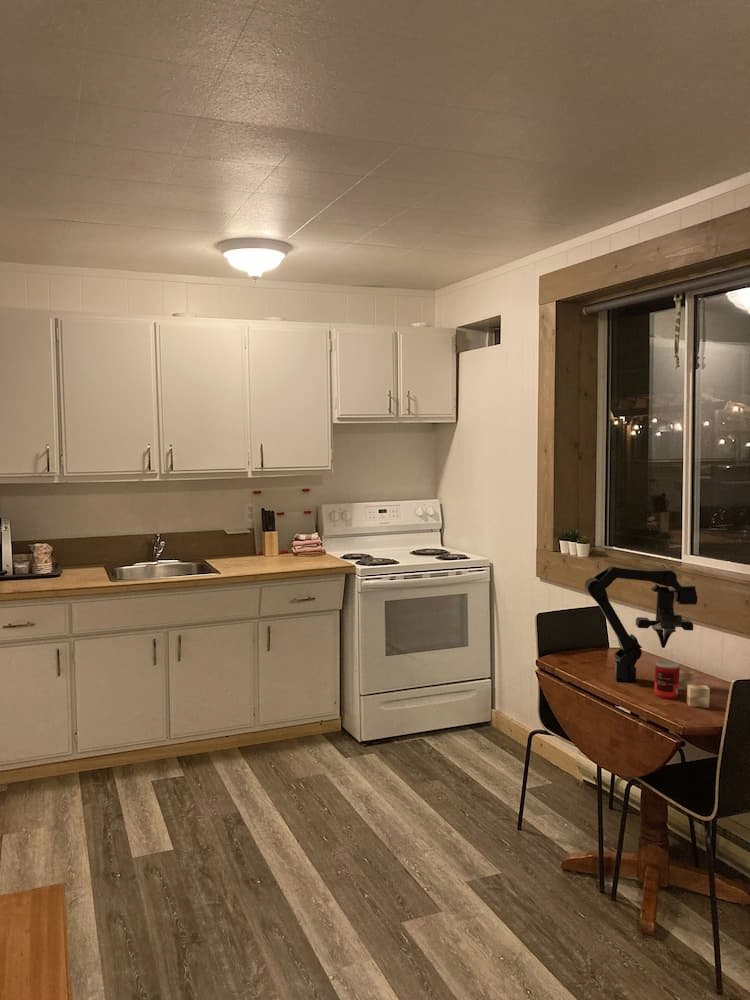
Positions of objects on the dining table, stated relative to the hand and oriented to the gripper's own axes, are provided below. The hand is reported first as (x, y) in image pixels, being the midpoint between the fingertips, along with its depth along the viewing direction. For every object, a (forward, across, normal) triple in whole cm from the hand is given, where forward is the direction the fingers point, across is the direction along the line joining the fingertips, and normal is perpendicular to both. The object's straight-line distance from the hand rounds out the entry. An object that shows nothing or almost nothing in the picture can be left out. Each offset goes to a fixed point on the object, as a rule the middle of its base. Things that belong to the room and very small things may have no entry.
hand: (663, 647), depth 297 cm
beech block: (+12, +6, -26) cm, 29 cm away
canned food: (+12, -2, -17) cm, 21 cm away
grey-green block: (+12, +6, -8) cm, 16 cm away
